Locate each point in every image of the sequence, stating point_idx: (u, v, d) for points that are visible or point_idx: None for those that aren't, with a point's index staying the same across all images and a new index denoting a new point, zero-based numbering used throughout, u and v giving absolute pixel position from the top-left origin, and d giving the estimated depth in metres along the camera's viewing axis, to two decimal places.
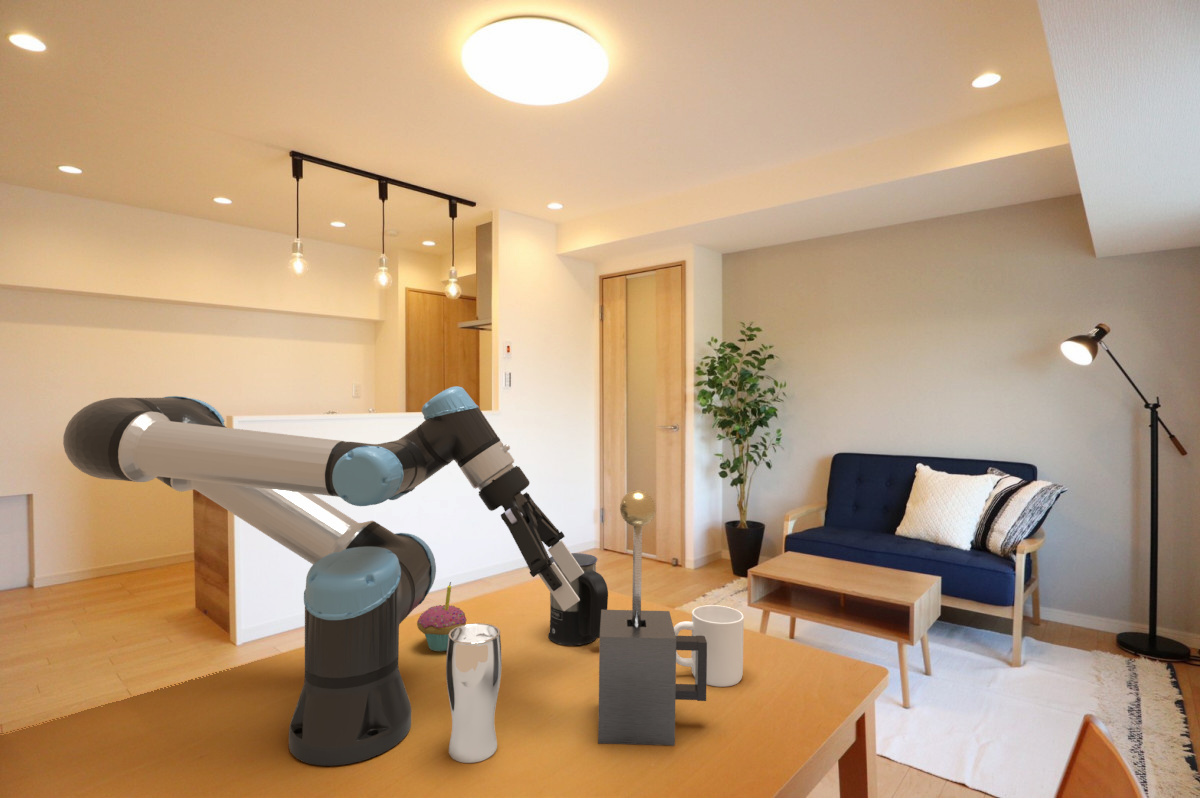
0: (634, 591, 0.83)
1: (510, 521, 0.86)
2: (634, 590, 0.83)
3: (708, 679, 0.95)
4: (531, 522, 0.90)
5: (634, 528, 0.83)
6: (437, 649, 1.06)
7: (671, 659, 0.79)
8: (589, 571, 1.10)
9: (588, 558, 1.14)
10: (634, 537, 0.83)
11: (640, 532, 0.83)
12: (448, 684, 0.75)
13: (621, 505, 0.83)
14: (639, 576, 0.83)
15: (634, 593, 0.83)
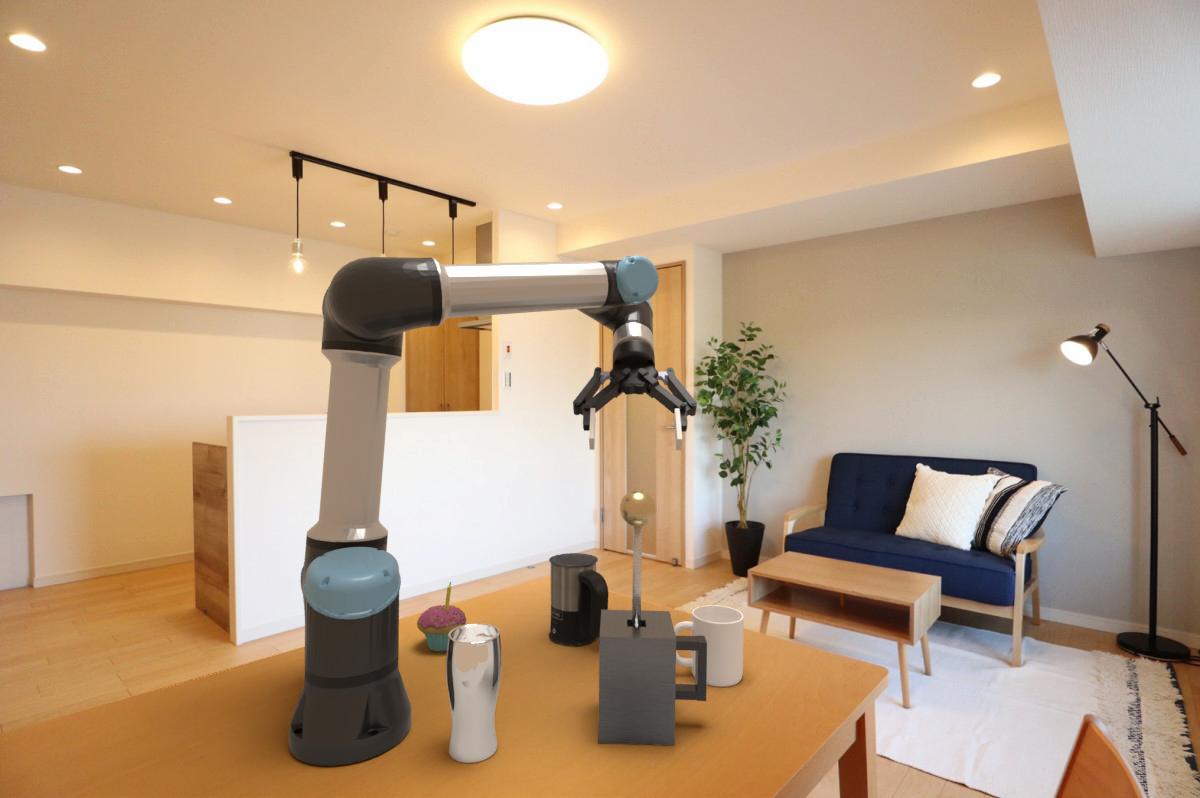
0: (634, 591, 0.83)
1: None
2: (634, 590, 0.83)
3: (708, 679, 0.95)
4: None
5: (634, 528, 0.83)
6: (437, 649, 1.06)
7: (671, 659, 0.79)
8: (589, 571, 1.10)
9: (588, 558, 1.14)
10: (634, 537, 0.83)
11: (640, 532, 0.83)
12: (448, 684, 0.75)
13: (621, 505, 0.83)
14: (639, 576, 0.83)
15: (634, 593, 0.83)
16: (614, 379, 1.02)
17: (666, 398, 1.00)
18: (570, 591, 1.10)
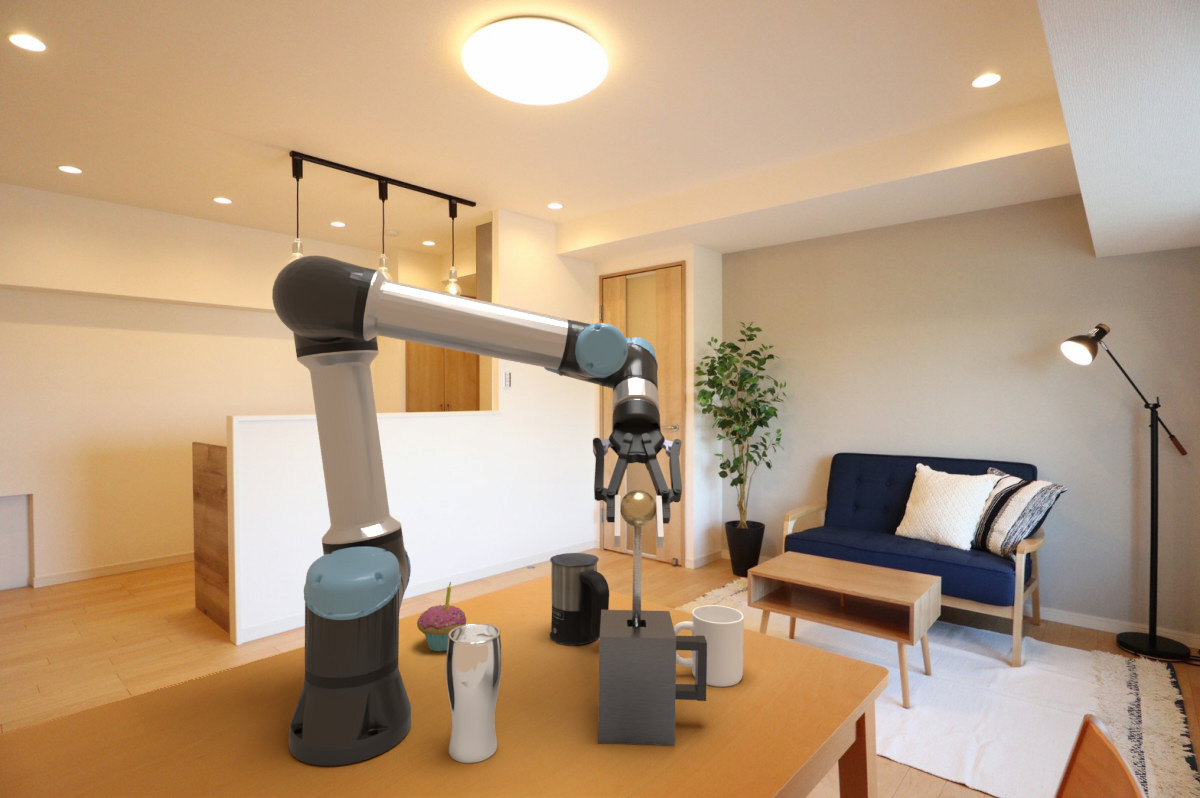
0: (634, 591, 0.83)
1: (678, 451, 0.90)
2: (634, 590, 0.83)
3: (708, 679, 0.95)
4: None
5: (634, 528, 0.83)
6: (437, 649, 1.06)
7: (671, 659, 0.79)
8: (590, 571, 1.10)
9: (589, 557, 1.15)
10: (634, 537, 0.83)
11: (640, 532, 0.83)
12: (448, 684, 0.75)
13: (621, 505, 0.83)
14: (639, 576, 0.83)
15: (634, 593, 0.83)
16: (621, 450, 0.89)
17: (654, 477, 0.86)
18: (571, 591, 1.10)
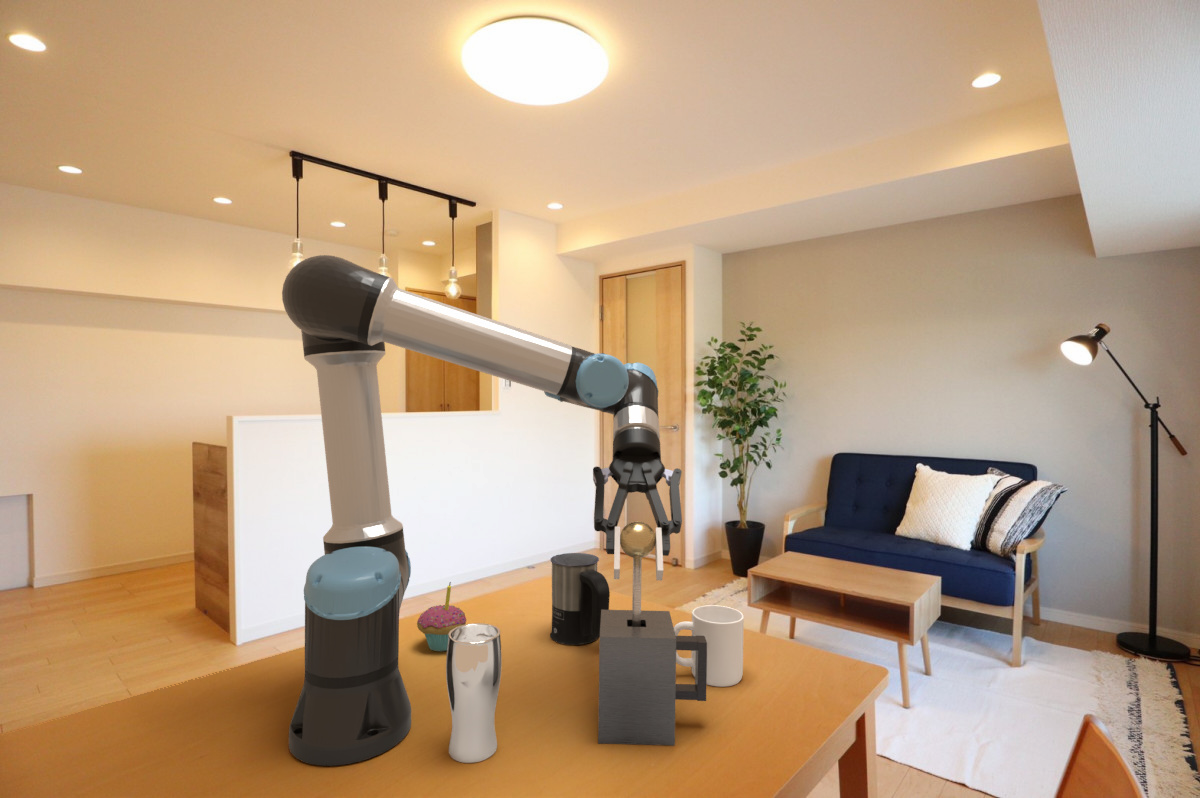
0: (634, 623, 0.83)
1: (678, 480, 0.90)
2: (634, 622, 0.83)
3: (708, 679, 0.95)
4: None
5: (634, 560, 0.83)
6: (437, 649, 1.06)
7: (671, 659, 0.79)
8: (591, 571, 1.10)
9: (590, 557, 1.15)
10: (634, 569, 0.83)
11: (640, 564, 0.83)
12: (448, 684, 0.75)
13: (620, 536, 0.83)
14: (639, 608, 0.83)
15: (634, 625, 0.83)
16: (622, 480, 0.89)
17: (654, 507, 0.86)
18: (571, 591, 1.10)
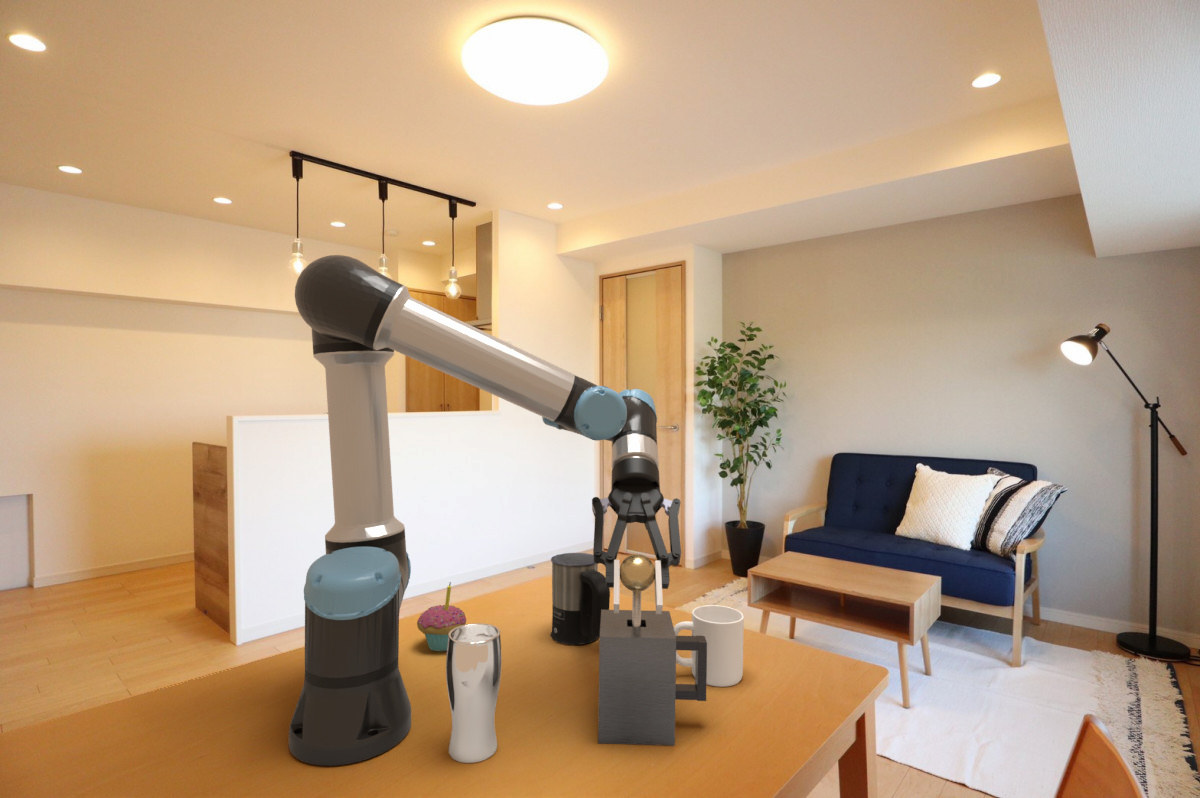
0: None
1: (678, 511, 0.90)
2: None
3: (708, 679, 0.95)
4: None
5: (633, 593, 0.83)
6: (437, 649, 1.06)
7: (671, 659, 0.79)
8: (591, 571, 1.10)
9: (590, 557, 1.15)
10: (634, 602, 0.83)
11: (639, 597, 0.83)
12: (448, 684, 0.75)
13: (620, 570, 0.83)
14: None
15: None
16: (621, 511, 0.89)
17: (653, 539, 0.86)
18: (572, 591, 1.10)
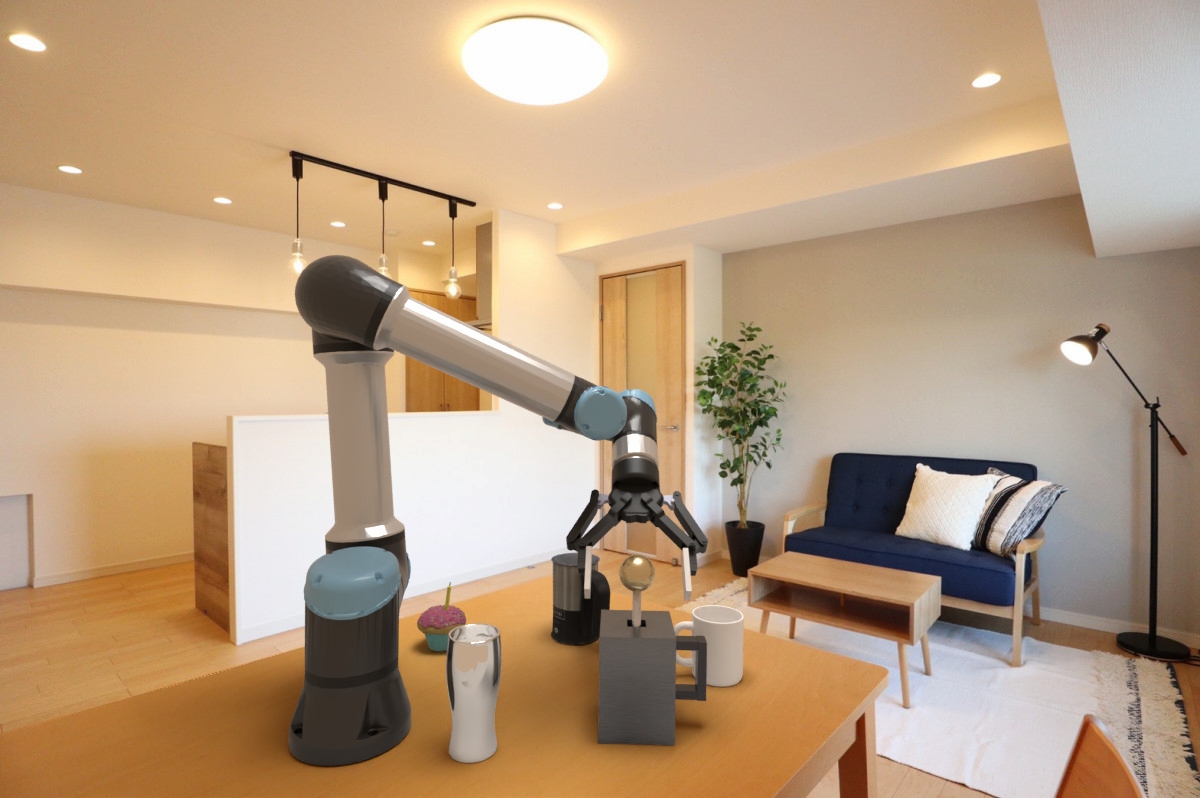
0: None
1: None
2: None
3: (708, 679, 0.95)
4: None
5: (633, 593, 0.83)
6: (437, 649, 1.06)
7: (671, 659, 0.79)
8: (591, 571, 1.10)
9: None
10: (634, 602, 0.83)
11: (639, 597, 0.83)
12: (448, 684, 0.75)
13: (620, 570, 0.83)
14: None
15: None
16: (613, 507, 0.89)
17: (673, 532, 0.87)
18: (572, 591, 1.10)
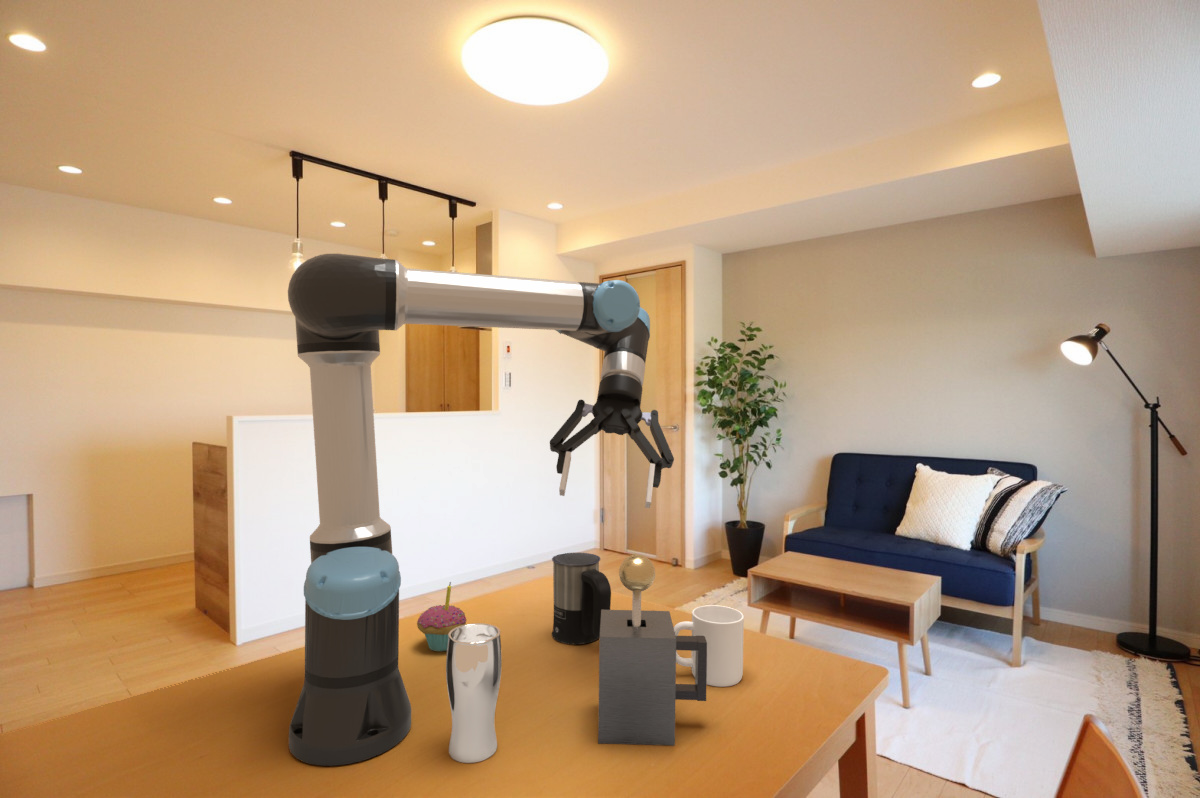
0: None
1: None
2: None
3: (708, 679, 0.95)
4: None
5: (633, 593, 0.83)
6: (437, 649, 1.06)
7: (671, 659, 0.79)
8: (592, 570, 1.10)
9: (591, 557, 1.15)
10: (634, 602, 0.83)
11: (639, 597, 0.83)
12: (448, 684, 0.75)
13: (620, 570, 0.83)
14: None
15: None
16: (595, 419, 0.99)
17: (644, 448, 0.98)
18: (573, 591, 1.10)
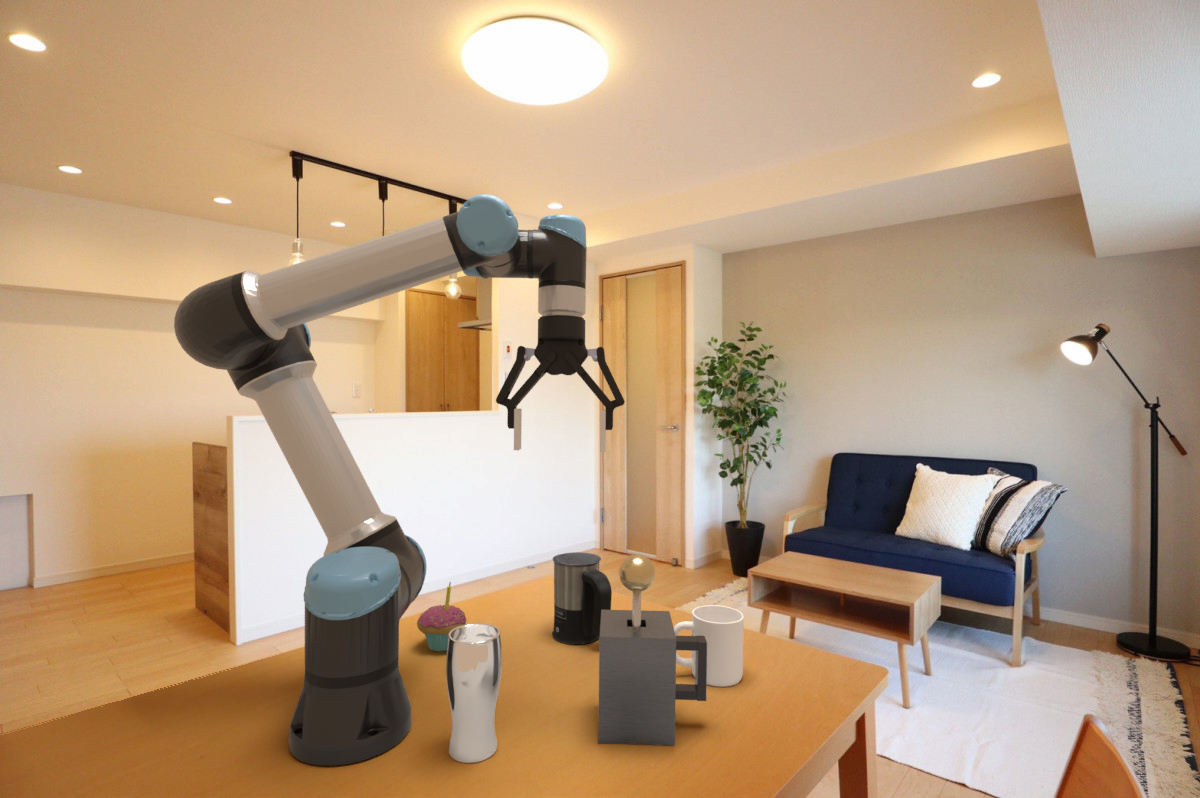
0: None
1: None
2: None
3: (708, 679, 0.95)
4: None
5: (633, 593, 0.83)
6: (437, 649, 1.06)
7: (671, 659, 0.79)
8: (593, 570, 1.10)
9: (592, 557, 1.15)
10: (634, 602, 0.83)
11: (639, 597, 0.83)
12: (448, 684, 0.75)
13: (620, 570, 0.83)
14: None
15: None
16: (538, 368, 0.94)
17: (593, 392, 0.95)
18: (574, 591, 1.10)
